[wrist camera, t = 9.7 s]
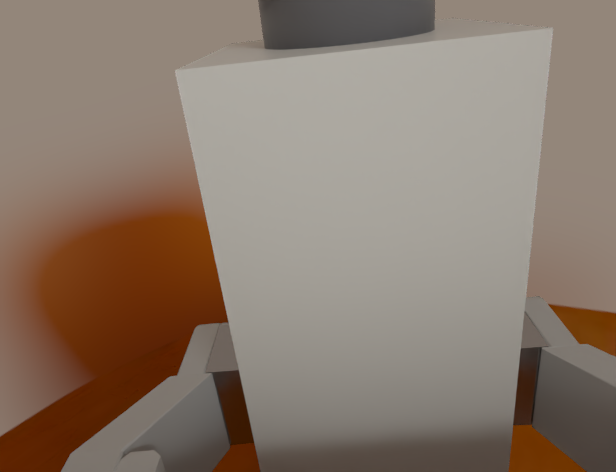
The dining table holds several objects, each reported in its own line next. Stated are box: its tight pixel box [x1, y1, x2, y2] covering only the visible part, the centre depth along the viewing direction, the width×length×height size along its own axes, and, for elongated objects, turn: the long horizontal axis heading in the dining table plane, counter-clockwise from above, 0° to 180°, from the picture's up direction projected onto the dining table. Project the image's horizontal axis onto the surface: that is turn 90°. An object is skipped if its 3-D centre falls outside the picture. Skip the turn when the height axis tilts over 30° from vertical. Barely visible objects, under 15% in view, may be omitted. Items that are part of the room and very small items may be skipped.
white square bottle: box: [175, 0, 553, 472], centre depth 10 cm, size 4×4×17 cm
